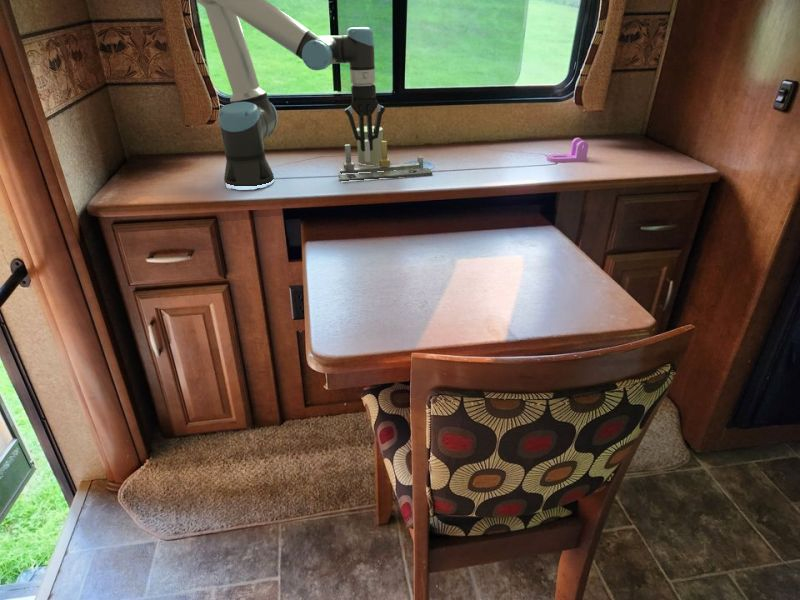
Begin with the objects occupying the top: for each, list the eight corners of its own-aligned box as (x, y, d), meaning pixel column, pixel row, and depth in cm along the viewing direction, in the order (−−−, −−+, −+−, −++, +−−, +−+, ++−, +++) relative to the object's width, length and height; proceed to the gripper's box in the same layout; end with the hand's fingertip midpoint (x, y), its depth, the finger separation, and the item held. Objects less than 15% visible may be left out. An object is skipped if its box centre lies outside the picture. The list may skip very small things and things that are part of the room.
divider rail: (340, 175, 170) (338, 146, 165) (339, 172, 173) (337, 144, 168) (423, 168, 175) (423, 140, 171) (420, 166, 178) (421, 138, 173)
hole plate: (340, 182, 164) (340, 179, 163) (338, 178, 168) (338, 174, 167) (432, 175, 169) (432, 172, 169) (428, 170, 173) (428, 167, 173)
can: (372, 167, 178) (371, 131, 171) (352, 163, 182) (350, 128, 176) (389, 161, 184) (388, 126, 178) (369, 157, 189) (367, 123, 183)
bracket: (579, 157, 186) (582, 137, 183) (585, 161, 181) (589, 141, 178) (544, 158, 185) (546, 138, 181) (549, 163, 180) (552, 142, 177)
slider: (381, 167, 172) (380, 142, 168) (379, 164, 174) (378, 140, 170) (389, 166, 172) (389, 142, 168) (388, 164, 175) (387, 140, 171)
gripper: (343, 87, 155) (349, 165, 167) (386, 84, 157) (389, 162, 169) (340, 83, 161) (346, 159, 173) (381, 81, 163) (384, 156, 175)
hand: (367, 160), depth 171 cm, fingers closed
